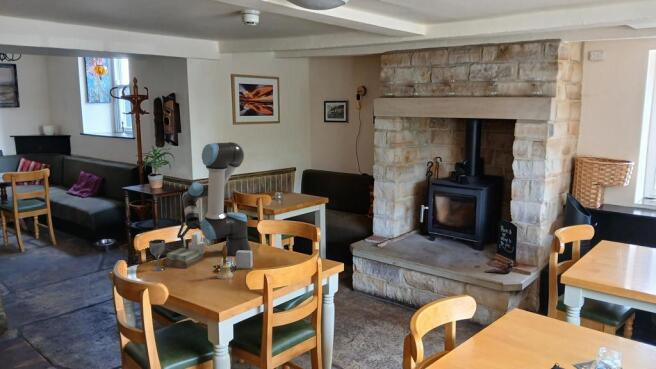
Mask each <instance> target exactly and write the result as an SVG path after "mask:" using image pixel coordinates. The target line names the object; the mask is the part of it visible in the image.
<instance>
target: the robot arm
mask: <svg viewBox="0 0 656 369" xmlns="http://www.w3.org/2000/svg"><path fill="white" fill-rule="evenodd" d="M201 152H202V153H201V161H202V164H203V165H205V168H206V169H207V170H208V184H201V183H200V182H197V181H196V182H193V183H192V184H191V185H190V186H189V187H188V190H187V191H185V192H184V193H183V194H182V196H181V199H182V205H183V211H184V215H185V222H184V221H181V224H180V228H179V231H178V232H177V239H180V242H181V244H183V248H186V249H187V244H186V238H185V237H186V235H187V233H188V232H189V231H190V230H197V229H198V231H201V234H202V235H203V236H204V238H205V239H206V241H207V246H208V247H210V246H211V240H217V239H222V238H223V239H224V238H226V241H225V245H226V248H227V256H235V257H236V252H237V251H238V250H243V251H252V250H251V249H252V248H251V246H250V242H249V240H248V217H247V215H246V214H245V213H243V212H233V211H231V212H226V213H225V212H224V210H225V209H224V208H225V207H224V206H225V186H226V184H227V182H228V180H229V179H230V178H231V177H232V176H233V173H234V172H235V170H236V169H237V168H239V167H240V166H241V165H242V163H243V162H244V159H245V153H244V150H243V148H242V146H240V145H239V143H235V142H232V141H231V142H230V141H229V142H213V143H207V144H206V145H204V147H203V148H202V151H201ZM202 198H207V212H206V213H205V214H204V219H202V220H200V216H199V211H198V206H197V202H198V200H199V199H202ZM185 226H186V228H185ZM184 228H185V229H184ZM183 229H184V230H183Z"/></svg>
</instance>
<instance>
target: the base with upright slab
mask: <svg viewBox="0 0 656 369" xmlns="http://www.w3.org/2000/svg"><path fill="white" fill-rule="evenodd" d="M205 244H206V243H205V241H203V240H202V231H201V230H195V231H194V232H193V233H192V234H191V241H190V242H188V244H187V245H188V249H194V250H199V254H200V255H204V254H205V253H206V250H205V249H206V248H205V247H206V246H205Z"/></svg>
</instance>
